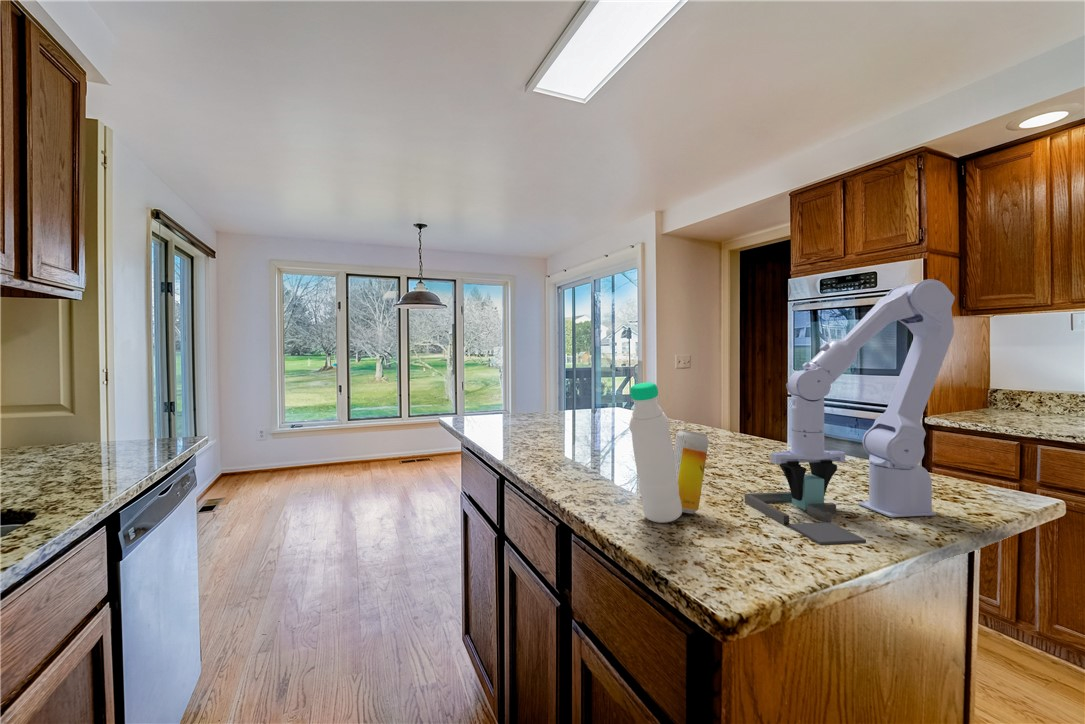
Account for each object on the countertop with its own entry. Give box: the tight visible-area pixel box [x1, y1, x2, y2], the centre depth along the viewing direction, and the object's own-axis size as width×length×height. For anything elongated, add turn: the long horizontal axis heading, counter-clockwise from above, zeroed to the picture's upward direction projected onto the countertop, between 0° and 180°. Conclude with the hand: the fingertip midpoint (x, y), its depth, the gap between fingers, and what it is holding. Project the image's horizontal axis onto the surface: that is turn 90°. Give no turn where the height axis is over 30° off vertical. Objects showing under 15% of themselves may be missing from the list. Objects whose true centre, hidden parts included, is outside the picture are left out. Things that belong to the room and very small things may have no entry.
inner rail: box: [806, 502, 837, 523], centre depth 85 cm, size 6×6×2 cm
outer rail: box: [744, 491, 792, 527], centre depth 89 cm, size 14×14×2 cm
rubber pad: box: [787, 521, 867, 545], centre depth 78 cm, size 8×8×1 cm
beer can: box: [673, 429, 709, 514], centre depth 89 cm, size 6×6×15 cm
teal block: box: [791, 473, 825, 511], centre depth 92 cm, size 4×4×6 cm
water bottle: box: [629, 382, 683, 524], centre depth 84 cm, size 7×7×25 cm
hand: (807, 498), depth 92 cm, fingers closed on teal block, 4 cm apart
